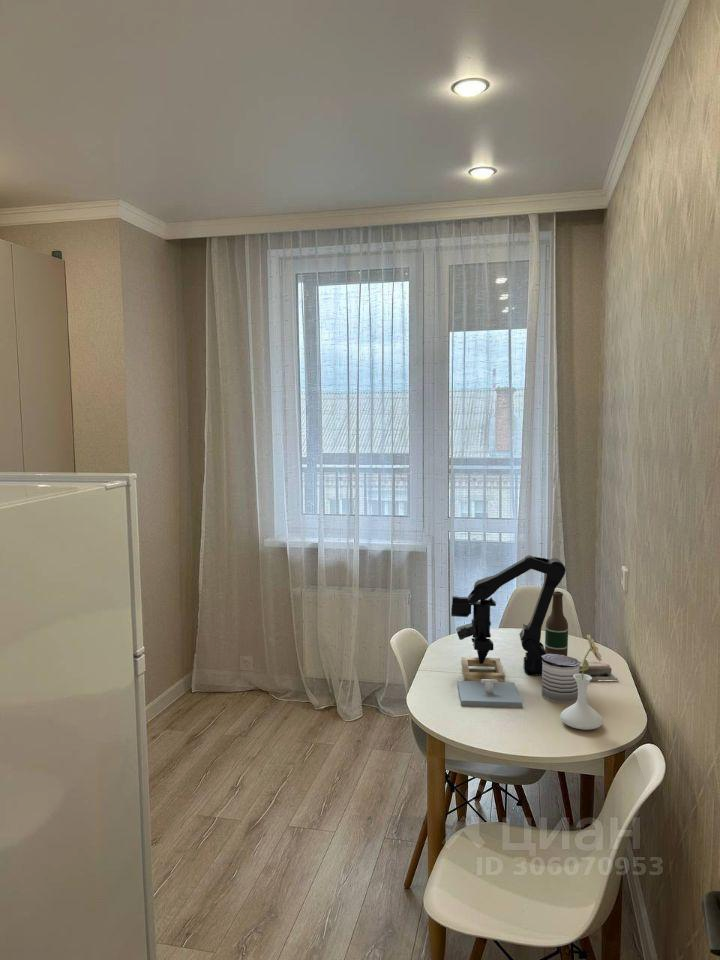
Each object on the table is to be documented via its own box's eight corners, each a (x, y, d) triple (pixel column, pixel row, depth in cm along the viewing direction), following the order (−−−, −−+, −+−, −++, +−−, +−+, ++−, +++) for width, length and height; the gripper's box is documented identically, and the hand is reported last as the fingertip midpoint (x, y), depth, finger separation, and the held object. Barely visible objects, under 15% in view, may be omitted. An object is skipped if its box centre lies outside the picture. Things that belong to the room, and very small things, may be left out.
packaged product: (563, 668, 226) (554, 658, 236) (562, 682, 227) (554, 672, 237) (618, 668, 227) (607, 658, 237) (617, 683, 227) (606, 672, 237)
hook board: (514, 687, 222) (514, 669, 221) (522, 707, 206) (522, 689, 205) (457, 685, 223) (457, 668, 223) (461, 705, 207) (461, 687, 207)
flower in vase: (592, 737, 186) (596, 646, 184) (552, 725, 194) (555, 637, 192) (611, 722, 196) (614, 635, 194) (572, 711, 203) (575, 627, 201)
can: (535, 689, 220) (536, 652, 219) (570, 688, 221) (571, 651, 220) (548, 703, 209) (549, 664, 208) (585, 702, 210) (586, 663, 209)
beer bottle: (555, 653, 255) (557, 588, 253) (571, 659, 248) (573, 593, 246) (540, 656, 251) (541, 591, 249) (556, 663, 244) (558, 596, 242)
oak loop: (499, 664, 238) (499, 658, 238) (504, 682, 226) (504, 675, 225) (461, 663, 239) (461, 657, 239) (464, 681, 227) (464, 674, 226)
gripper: (456, 609, 246) (455, 652, 248) (459, 625, 228) (458, 671, 229) (487, 610, 245) (486, 653, 247) (494, 625, 227) (493, 672, 228)
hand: (480, 662), depth 238 cm, fingers closed on oak loop, 2 cm apart
